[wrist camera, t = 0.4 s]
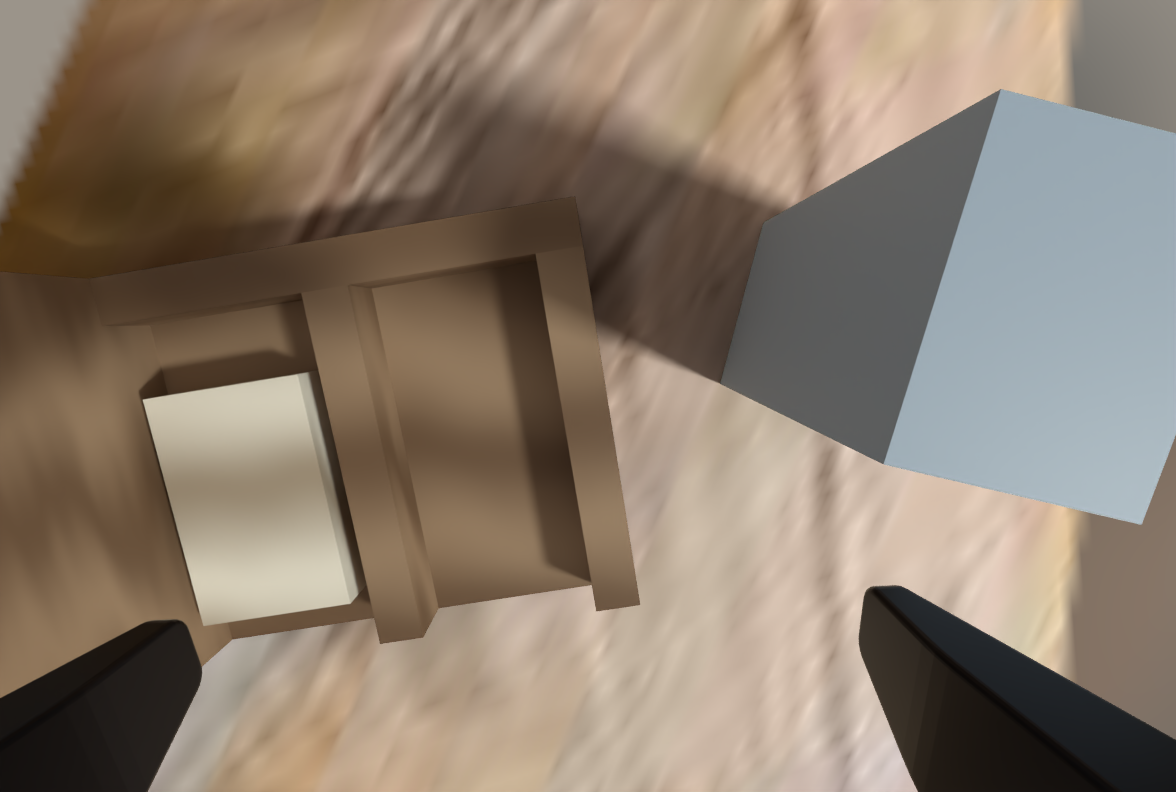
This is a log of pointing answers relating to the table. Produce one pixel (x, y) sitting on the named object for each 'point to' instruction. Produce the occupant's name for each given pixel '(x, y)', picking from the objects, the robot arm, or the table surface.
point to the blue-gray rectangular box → (983, 306)
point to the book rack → (306, 438)
